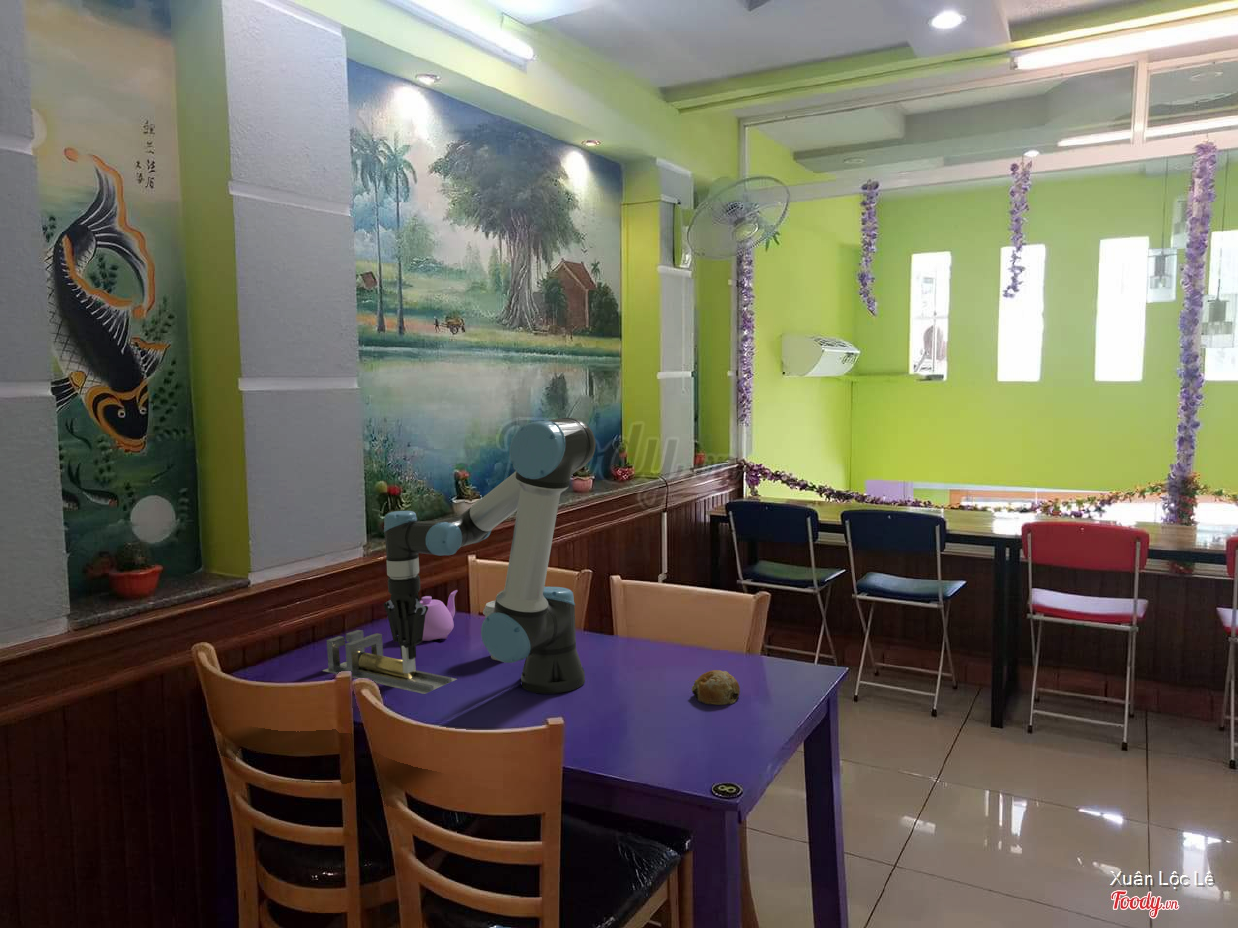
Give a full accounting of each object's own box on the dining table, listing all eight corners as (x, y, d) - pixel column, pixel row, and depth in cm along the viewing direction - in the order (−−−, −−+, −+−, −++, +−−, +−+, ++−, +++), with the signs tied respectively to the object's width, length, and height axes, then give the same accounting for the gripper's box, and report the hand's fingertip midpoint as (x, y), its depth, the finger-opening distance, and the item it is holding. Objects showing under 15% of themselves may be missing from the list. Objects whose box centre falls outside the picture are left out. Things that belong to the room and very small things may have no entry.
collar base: (457, 682, 208) (455, 646, 207) (424, 698, 198) (422, 660, 198) (356, 661, 227) (354, 628, 226) (322, 674, 218) (319, 639, 217)
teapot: (445, 625, 258) (443, 585, 257) (475, 633, 249) (472, 592, 247) (387, 642, 243) (384, 600, 242) (416, 651, 234) (413, 607, 233)
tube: (413, 678, 210) (417, 662, 211) (402, 677, 207) (405, 660, 208) (358, 666, 221) (361, 651, 222) (346, 665, 218) (350, 649, 219)
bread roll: (719, 724, 186) (733, 694, 184) (681, 697, 191) (694, 668, 188) (738, 708, 195) (751, 679, 192) (701, 683, 199) (713, 654, 197)
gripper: (434, 574, 206) (440, 670, 208) (396, 569, 213) (402, 662, 215) (411, 581, 199) (417, 680, 202) (372, 576, 206) (378, 671, 209)
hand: (409, 671), depth 208 cm, fingers closed
